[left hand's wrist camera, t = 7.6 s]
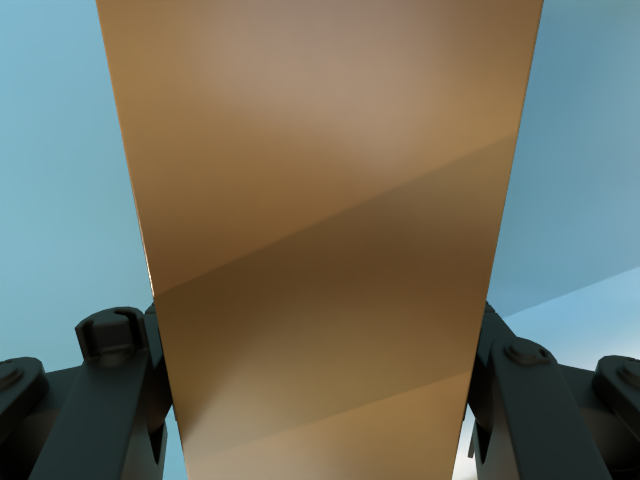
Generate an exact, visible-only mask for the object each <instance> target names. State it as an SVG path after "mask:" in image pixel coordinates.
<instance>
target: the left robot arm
mask: <svg viewBox="0 0 640 480" xmlns="http://www.w3.org/2000/svg"><path fill="white" fill-rule="evenodd" d="M75 331H76V335H77V338H78V341H79V345H80V348H81V352H82V355H83V358H84V361H83V363H82V365H81V366H77V367H73V368H68V369H63V370H58V371H54V372H49V373H45V370H44V368H43V365H42V362H41V361H39V360H38V359H37V358H32V357H21V358H13V359H8V360H5V361H1V362H0V480H162V478H163V469H164V461H165V452H166V443H167V435H168V434H167V427H166V422H165V418H166V416H167V414H168V412H169V409H170V407H171V405H173V410H174V415H175V421H177V419H176V414H175V409H174V404H173V398H172V393H171V388H170V383H169V378H168V373H167V367H166V362H165V357H164V352H163V347H162V341H161V336H160V331H159V326H158V321H157V316H156V310H155V305H154V302H153V303H152V305H151V306H150V307H149V308H148V309H147V310H146V311H145V314H143V312H141V311H140V310H139V309H137V308H133V307H115V308H110V309H106V310H102V311H100V312H97V313H95V314H92V315H90V316H89V317H87V318H85V319H84V320H82V321H81V322H80V323H79V324H78V325H77V326H76V327H75ZM467 404H469V406H470V408H471V410H472V412H473V414H474V416H475V422H474V427H473V432H472V437H471V442H470V446H469V452H468V457H469V458H473V454H474V451H475V460H476V468H477V477H478V480H640V360H638V359H637V360H636V359H635V358H631V357H625V356H617V355H611V356H604V357H603V358H601V359H600V360H599V361H598V364H597V367H596V370H595V372H594V371H589V370H585V369H580V368H575V367H570V366H565V365H561V364H558V363H557V360H556V359H555V358H554V356H553V355H552V354H551V352H550V351H548V350H547V349H545V348H544V347H543V346H541V345H539V344H537V343H535V342H533V341H531V340H528V339H524V338H520V337H516V335H515V334H514V333H513V332H512V331H511V329H510V328H509V327H508V326H507V325H506V323H505V322H504V321H503V320H502V319H501V317H500V316H499V315H498V314H497V313H495V310H494V309H493V308H492V306H491V305H489V304H488V302H487V300H486V303H485V308H484V314H483V319H482V324H481V329H480V334H479V340H478V345H477V350H476V355H475V360H474V366H473V371H472V376H471V381H470V386H469V392H468V397H467V402H466V407H465V412H464V418H463V421H464V419H465V414H466V409H467Z"/></svg>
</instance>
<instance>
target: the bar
mask: <svg viewBox="0 0 640 480" xmlns="http://www.w3.org/2000/svg"><path fill="white" fill-rule="evenodd" d="M543 2H544V0H96V5H97V10H98V15H99V20H100V26H101V31H102V36H103V41H104V46H105V51H106V57H107V62H108V67H109V72H110V77H111V83H112V88H113V93H114V98H115V103H116V108H117V114H118V119H119V124H120V129H121V134H122V139H123V145H124V150H125V155H126V160H127V165H128V171H129V176H130V181H131V186H132V191H133V196H134V202H135V207H136V212H137V217H138V222H139V228H140V233H141V238H142V243H143V248H144V253H145V259H146V264H147V269H148V274H149V279H150V285H151V290H152V295H153V300H154V305H155V310H156V316H157V321H158V326H159V331H160V336H161V341H162V347H163V352H164V357H165V362H166V367H167V373H168V378H169V383H170V388H171V393H172V398H173V404H174V409H175V414H176V419H177V424H178V430H179V435H180V440H181V445H182V450H183V455H184V461H185V466H186V471H187V476H188V480H452V475H453V469H454V464H455V459H456V454H457V449H458V443H459V438H460V433H461V428H462V423H463V418H464V412H465V407H466V402H467V397H468V392H469V386H470V381H471V376H472V371H473V366H474V360H475V355H476V350H477V345H478V340H479V334H480V329H481V324H482V319H483V314H484V308H485V303H486V298H487V293H488V288H489V283H490V277H491V272H492V267H493V262H494V257H495V251H496V246H497V241H498V236H499V231H500V225H501V220H502V215H503V210H504V205H505V199H506V194H507V189H508V184H509V179H510V174H511V168H512V163H513V158H514V153H515V148H516V142H517V137H518V132H519V127H520V122H521V116H522V111H523V106H524V101H525V96H526V90H527V85H528V80H529V75H530V70H531V65H532V59H533V54H534V49H535V44H536V39H537V33H538V28H539V23H540V18H541V13H542V7H543Z"/></svg>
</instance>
